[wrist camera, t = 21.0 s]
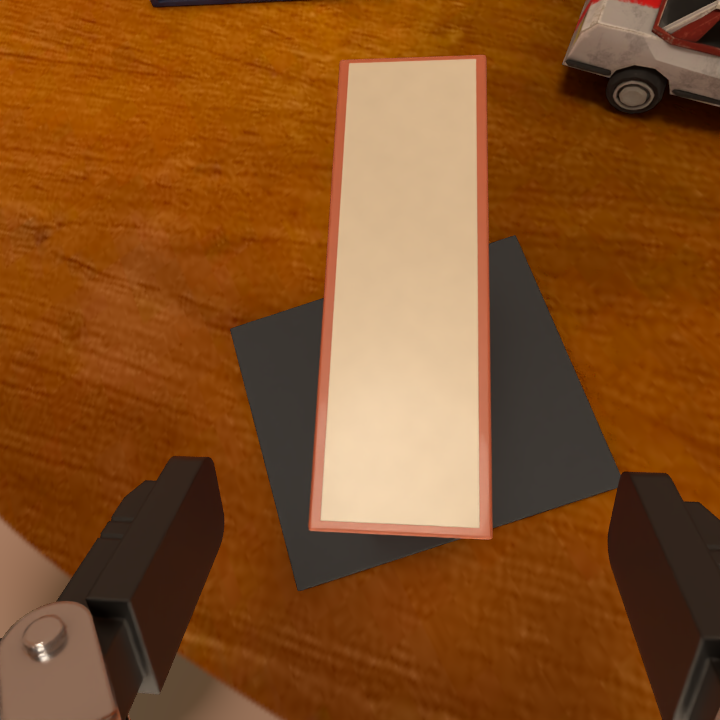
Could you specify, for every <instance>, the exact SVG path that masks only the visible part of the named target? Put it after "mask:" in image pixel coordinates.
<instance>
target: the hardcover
mask: <svg viewBox="0 0 720 720" xmlns="http://www.w3.org/2000/svg"><path fill="white" fill-rule="evenodd" d="M150 1H151V3H152V5H153V6H154V7H160V6H182V5H204V4H225V3H247V2H269V1H291V0H150Z"/></svg>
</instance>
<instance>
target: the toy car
mask: <svg viewBox="0 0 720 720" xmlns="http://www.w3.org/2000/svg"><path fill="white" fill-rule="evenodd" d="M562 65H566V66H569V67H573V68H576V69H580V70H584V71H587V72H591V73H594V74H598V75H601V76H605V77H609V78H610V79H609V81H608V84H607V88H606V97H607V99H608V101H609V103H610V104H611V105H612V106H614V107H615V108H616V109H618V110H619V111H622V112H626V113H630V114H633V113H642V112H646V111H648V110H650V109H652V108H653V107H654V106H655V105H657V104H658V103H659V102H660V101H661V99H662V96H663V93H664V90H665V87H666V84H667V79H668V80H669V88H670V94H671V95H675V96H679V97H683V98H687V99H690V100H694V101H698V102H702V103H706V104H710V105H713V106H717V107H720V0H586V2H585V5H584V7H583V10H582V13H581V15H580V18H579V21H578V23H577V26H576V29H575V31H574V34H573V37H572V39H571V42H570V45H569V47H568V50H567V53H566V55H565V58H564V61H563V63H562Z"/></svg>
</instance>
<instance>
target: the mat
mask: <svg viewBox="0 0 720 720" xmlns="http://www.w3.org/2000/svg"><path fill="white" fill-rule="evenodd" d="M489 297H490V373H491V448H492V523H493V528H495V527H498V526H501V525H504V524H507V523H510V522H514V521H517V520H520V519H523V518H526V517H529V516H532V515H535V514H538V513H541V512H544V511H547V510H550V509H554V508H557V507H560V506H563V505H566V504H569V503H572V502H575V501H578V500H581V499H584V498H587V497H590V496H594V495H597V494H600V493H603V492H606V491H609V490H612V489H615V488H618V484H619V479H620V477H621V475H620V473H619V470H618V468H617V466H616V463H615V461H614V459H613V457H612V454H611V452H610V450H609V448H608V445H607V443H606V441H605V438H604V436H603V434H602V432H601V429H600V427H599V425H598V422H597V420H596V418H595V416H594V413H593V411H592V409H591V406H590V404H589V402H588V400H587V397H586V395H585V393H584V390H583V388H582V386H581V384H580V381H579V379H578V377H577V375H576V372H575V370H574V368H573V365H572V363H571V361H570V359H569V356H568V354H567V352H566V349H565V347H564V345H563V343H562V340H561V338H560V336H559V333H558V331H557V329H556V327H555V324H554V322H553V320H552V317H551V315H550V313H549V311H548V308H547V306H546V304H545V301H544V299H543V297H542V295H541V292H540V290H539V288H538V286H537V283H536V281H535V279H534V276H533V274H532V272H531V270H530V267H529V265H528V263H527V260H526V258H525V256H524V254H523V251H522V249H521V247H520V244H519V242H518V240H517V238H516V236H511V237H508V238H505V239H502V240H499V241H496V242H493V243H490V244H489ZM323 302H324V298H322V299H319V300H316V301H313V302H310V303H307V304H304V305H301V306H298V307H295V308H292V309H289V310H286V311H283V312H280V313H277V314H274V315H271V316H267V317H264V318H261V319H258V320H255V321H252V322H249V323H246V324H243V325H240V326H237V327H234V328H231V329H230V331H231V335H232V339H233V343H234V346H235V350H236V354H237V358H238V362H239V366H240V370H241V373H242V377H243V381H244V385H245V389H246V393H247V397H248V400H249V404H250V408H251V412H252V416H253V420H254V424H255V427H256V431H257V435H258V439H259V443H260V447H261V451H262V454H263V458H264V462H265V466H266V470H267V474H268V478H269V481H270V485H271V489H272V493H273V497H274V501H275V505H276V508H277V512H278V516H279V520H280V524H281V528H282V532H283V535H284V539H285V543H286V547H287V551H288V555H289V558H290V562H291V566H292V570H293V574H294V578H295V582H296V585H297V589H298V591H301V590H304V589H307V588H310V587H313V586H317V585H320V584H323V583H326V582H329V581H332V580H335V579H338V578H341V577H344V576H347V575H350V574H353V573H357V572H360V571H363V570H366V569H369V568H372V567H375V566H378V565H381V564H384V563H387V562H390V561H393V560H397V559H400V558H403V557H406V556H409V555H412V554H415V553H418V552H421V551H424V550H427V549H430V548H434V547H437V546H440V545H443V544H446V543H449V542H452V541H455V540H458V539H461V538H443V537H422V536H402V535H381V534H361V533H340V532H320V531H310V530H309V528H308V523H309V508H310V493H311V479H312V464H313V449H314V435H315V420H316V405H317V390H318V376H319V361H320V346H321V332H322V317H323Z"/></svg>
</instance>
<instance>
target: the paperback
mask: <svg viewBox="0 0 720 720" xmlns="http://www.w3.org/2000/svg"><path fill="white" fill-rule="evenodd" d="M308 528H309V530H310V531H320V532H340V533H361V534H381V535H402V536H422V537H443V538H463V539H484V540H490V539H492V537H493V523H492V448H491V373H490V297H489V222H488V147H487V71H486V56H485V55H469V56H441V57H413V58H385V59H357V60H341V61H340V67H339V81H338V96H337V111H336V125H335V140H334V155H333V170H332V184H331V199H330V214H329V228H328V243H327V258H326V273H325V287H324V302H323V317H322V332H321V346H320V361H319V376H318V390H317V405H316V420H315V435H314V449H313V464H312V479H311V493H310V508H309V523H308Z"/></svg>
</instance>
